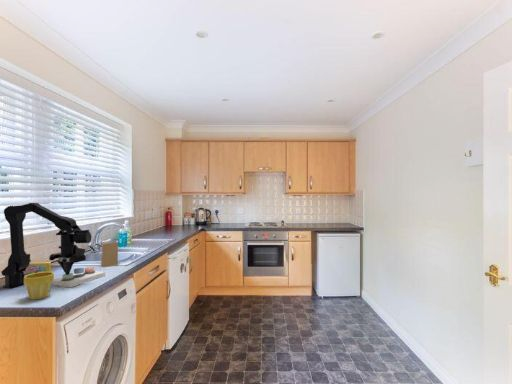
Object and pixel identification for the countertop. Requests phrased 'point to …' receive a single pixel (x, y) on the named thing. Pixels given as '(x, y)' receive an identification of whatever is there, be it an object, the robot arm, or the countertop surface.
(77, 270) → the slate button
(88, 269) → the terracotta button
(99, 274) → the button board
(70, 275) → the sage button
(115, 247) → the sandwich container
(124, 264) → the countertop surface
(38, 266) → the candy box
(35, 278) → the plant pot
